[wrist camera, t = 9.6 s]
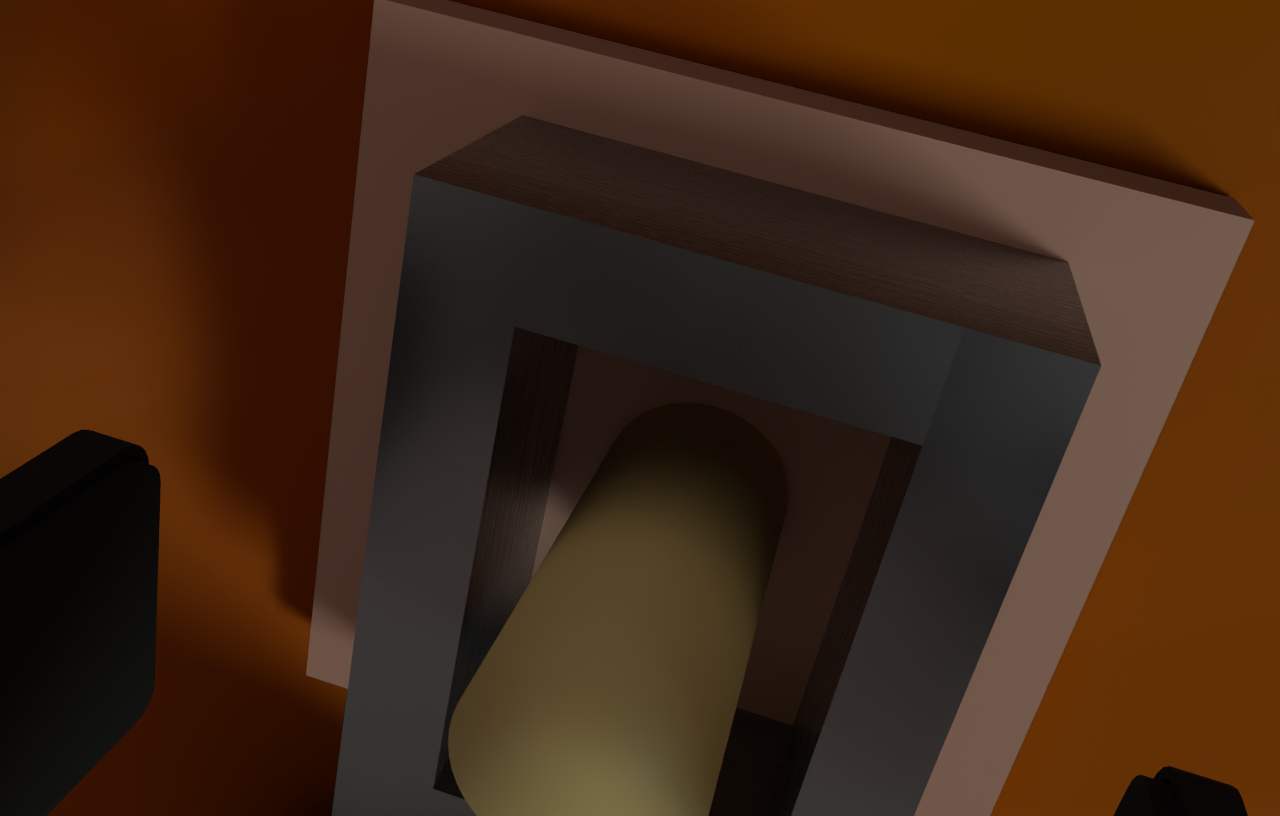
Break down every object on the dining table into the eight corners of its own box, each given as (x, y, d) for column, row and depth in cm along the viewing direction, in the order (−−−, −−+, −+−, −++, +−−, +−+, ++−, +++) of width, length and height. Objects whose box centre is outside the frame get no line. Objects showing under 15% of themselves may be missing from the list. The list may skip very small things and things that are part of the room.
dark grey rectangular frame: (1068, 261, 13) (1101, 365, 10) (852, 817, 17) (834, 1007, 14) (522, 114, 14) (413, 173, 11) (429, 676, 18) (329, 829, 15)
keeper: (956, 840, 18) (960, 1299, 12) (336, 638, 19) (69, 967, 13) (1235, 198, 14) (1449, 432, 8) (408, -10, 15) (61, 59, 9)
